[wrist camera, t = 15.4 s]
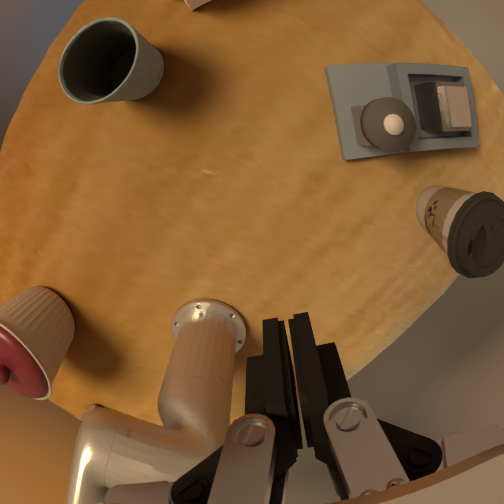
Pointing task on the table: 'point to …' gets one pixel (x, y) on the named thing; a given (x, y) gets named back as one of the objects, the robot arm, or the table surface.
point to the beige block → (443, 106)
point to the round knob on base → (388, 124)
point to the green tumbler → (109, 63)
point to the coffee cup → (465, 228)
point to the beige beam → (195, 3)
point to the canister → (34, 341)
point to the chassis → (397, 86)
